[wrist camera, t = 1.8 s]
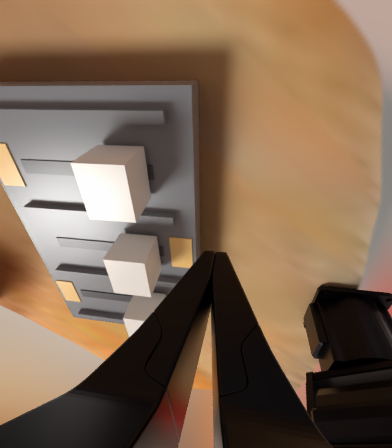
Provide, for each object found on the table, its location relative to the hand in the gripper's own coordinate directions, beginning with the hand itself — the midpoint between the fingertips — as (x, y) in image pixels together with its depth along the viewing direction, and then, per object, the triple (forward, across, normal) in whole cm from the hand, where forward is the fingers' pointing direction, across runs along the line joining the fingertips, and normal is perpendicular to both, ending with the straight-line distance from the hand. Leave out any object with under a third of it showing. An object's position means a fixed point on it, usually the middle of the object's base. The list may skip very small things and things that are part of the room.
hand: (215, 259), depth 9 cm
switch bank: (+10, +10, +7) cm, 15 cm away
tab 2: (+7, +7, +7) cm, 12 cm away
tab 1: (+7, +7, 0) cm, 10 cm away
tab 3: (+7, +7, +14) cm, 17 cm away
